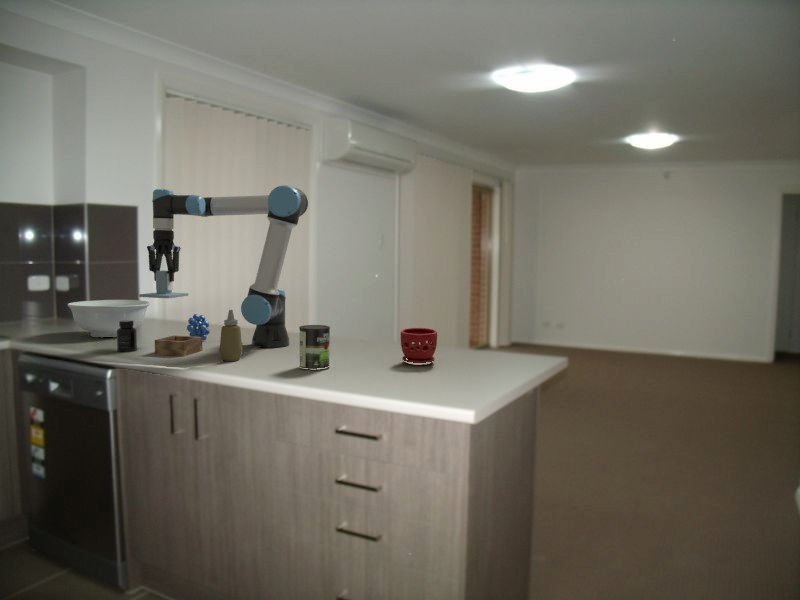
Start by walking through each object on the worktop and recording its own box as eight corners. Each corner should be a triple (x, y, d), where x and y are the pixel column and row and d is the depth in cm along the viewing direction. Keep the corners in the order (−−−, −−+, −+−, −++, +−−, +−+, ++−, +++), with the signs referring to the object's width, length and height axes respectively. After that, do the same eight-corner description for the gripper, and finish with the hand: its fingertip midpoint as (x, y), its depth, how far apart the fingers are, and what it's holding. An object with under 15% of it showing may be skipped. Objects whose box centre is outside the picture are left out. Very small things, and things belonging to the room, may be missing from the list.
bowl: (124, 328, 293) (124, 297, 292) (165, 335, 275) (164, 302, 273) (54, 335, 267) (53, 302, 266) (93, 344, 249) (92, 307, 247)
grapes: (195, 345, 250) (194, 315, 249) (183, 343, 254) (183, 314, 252) (216, 341, 260) (216, 312, 259) (205, 339, 264) (204, 311, 263)
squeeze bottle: (221, 362, 215) (221, 311, 214) (217, 358, 222) (216, 309, 221) (245, 361, 219) (244, 310, 217) (239, 357, 226) (239, 308, 224)
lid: (188, 295, 247) (188, 270, 246) (168, 298, 234) (168, 272, 233) (159, 294, 250) (159, 269, 249) (139, 296, 237) (138, 271, 236)
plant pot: (394, 361, 224) (394, 328, 223) (426, 359, 229) (427, 327, 228) (408, 368, 212) (409, 333, 211) (443, 365, 217) (443, 332, 216)
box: (202, 352, 233) (202, 337, 233) (184, 358, 222) (183, 341, 221) (174, 350, 236) (174, 335, 236) (154, 356, 225) (154, 340, 224)
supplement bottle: (141, 352, 233) (140, 320, 231) (126, 355, 226) (125, 322, 225) (128, 350, 235) (127, 319, 234) (112, 353, 229) (112, 321, 228)
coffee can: (335, 367, 212) (336, 326, 210) (316, 372, 203) (316, 329, 201) (312, 363, 217) (312, 323, 216) (292, 368, 208) (292, 326, 207)
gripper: (188, 230, 241) (189, 290, 243) (150, 229, 245) (151, 288, 248) (177, 229, 234) (177, 291, 236) (138, 229, 238) (139, 289, 240)
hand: (164, 289), depth 242 cm, fingers closed on lid, 4 cm apart
